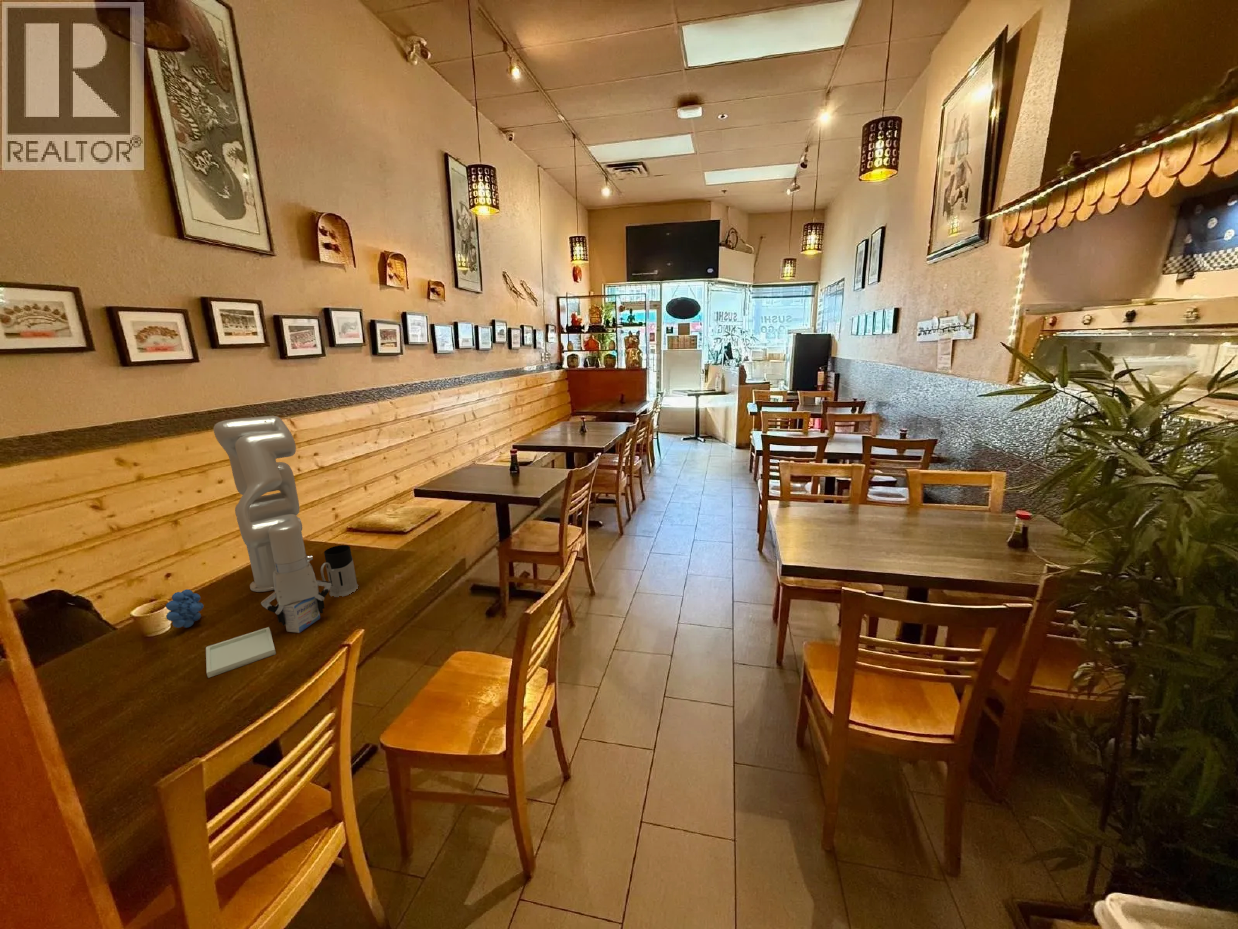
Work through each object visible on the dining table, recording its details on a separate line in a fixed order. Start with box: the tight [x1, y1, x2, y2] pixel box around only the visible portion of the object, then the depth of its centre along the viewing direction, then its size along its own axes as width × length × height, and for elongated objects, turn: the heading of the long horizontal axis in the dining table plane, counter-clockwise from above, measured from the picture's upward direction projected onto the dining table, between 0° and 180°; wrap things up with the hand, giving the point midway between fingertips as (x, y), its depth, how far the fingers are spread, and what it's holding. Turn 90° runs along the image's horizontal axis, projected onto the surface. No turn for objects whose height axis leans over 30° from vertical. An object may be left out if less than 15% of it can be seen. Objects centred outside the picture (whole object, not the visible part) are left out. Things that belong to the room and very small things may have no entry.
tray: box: [205, 626, 277, 679], centre depth 127 cm, size 14×14×2 cm
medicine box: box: [282, 597, 321, 634], centre depth 138 cm, size 8×4×9 cm, turn 168°
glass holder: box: [320, 544, 359, 598], centre depth 155 cm, size 9×14×15 cm, turn 2°
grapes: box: [165, 588, 205, 629], centre depth 138 cm, size 12×7×12 cm, turn 6°
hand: (302, 617), depth 139 cm, fingers closed on medicine box, 9 cm apart
